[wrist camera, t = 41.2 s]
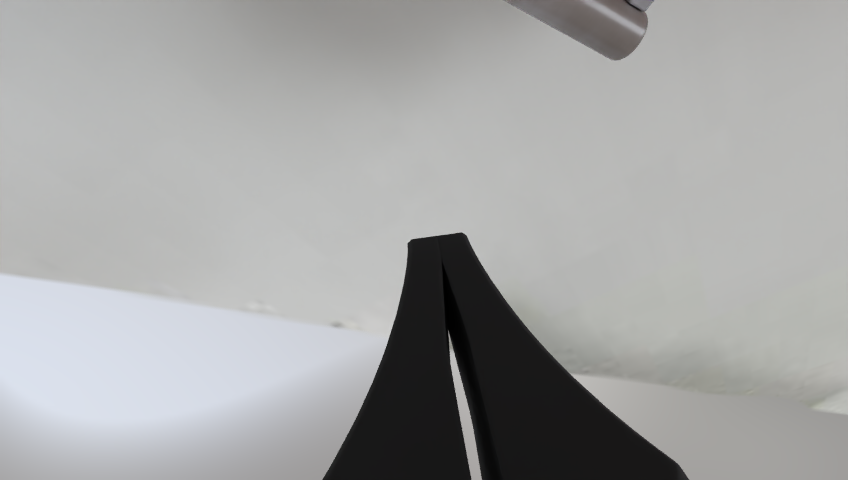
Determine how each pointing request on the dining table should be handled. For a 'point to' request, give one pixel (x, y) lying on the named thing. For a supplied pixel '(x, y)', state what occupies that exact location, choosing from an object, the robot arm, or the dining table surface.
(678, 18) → the dining table surface
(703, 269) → the dining table surface
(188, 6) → the dining table surface
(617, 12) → the drawer
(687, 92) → the dining table surface
